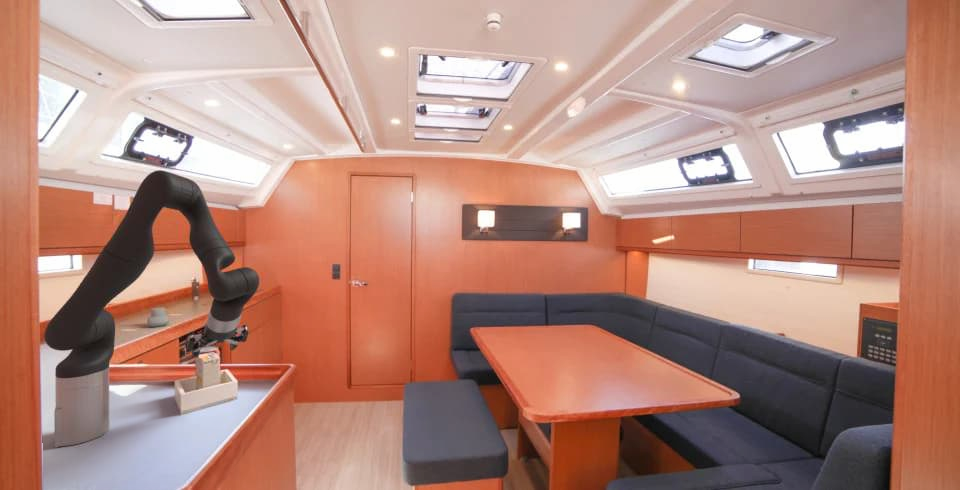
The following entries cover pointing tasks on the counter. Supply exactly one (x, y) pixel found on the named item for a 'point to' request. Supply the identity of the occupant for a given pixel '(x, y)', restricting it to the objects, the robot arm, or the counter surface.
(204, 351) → the soda can
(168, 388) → the counter surface
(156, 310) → the air freshener
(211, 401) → the bin
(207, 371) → the supplement box
